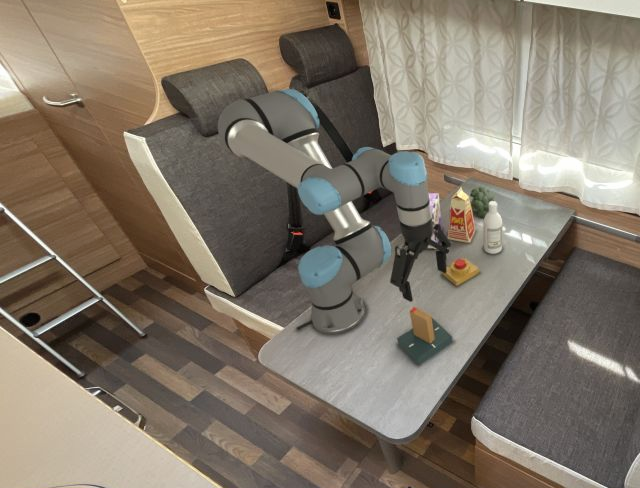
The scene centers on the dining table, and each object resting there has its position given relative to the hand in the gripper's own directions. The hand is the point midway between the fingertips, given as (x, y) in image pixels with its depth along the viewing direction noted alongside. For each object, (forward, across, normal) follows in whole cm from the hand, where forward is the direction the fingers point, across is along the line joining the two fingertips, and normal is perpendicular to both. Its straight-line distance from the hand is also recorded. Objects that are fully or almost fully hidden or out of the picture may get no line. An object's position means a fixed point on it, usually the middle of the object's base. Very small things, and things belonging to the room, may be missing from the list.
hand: (425, 284), depth 109 cm
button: (+15, -25, -9) cm, 31 cm away
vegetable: (+19, -60, -27) cm, 68 cm away
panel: (+19, +5, +2) cm, 20 cm away
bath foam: (+19, -43, -8) cm, 48 cm away
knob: (+16, +5, +2) cm, 17 cm away
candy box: (+19, -35, -31) cm, 51 cm away
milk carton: (+19, -44, -24) cm, 53 cm away
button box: (+19, -25, -9) cm, 33 cm away
